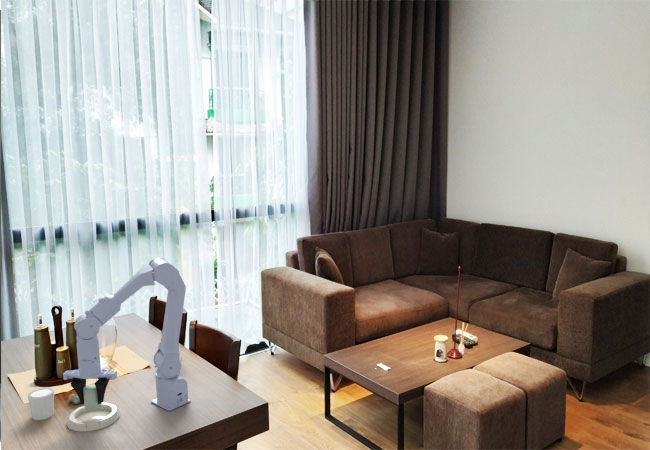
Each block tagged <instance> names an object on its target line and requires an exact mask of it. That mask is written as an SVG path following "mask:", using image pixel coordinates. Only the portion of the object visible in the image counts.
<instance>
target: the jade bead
mask: <svg viewBox="0 0 650 450" xmlns="http://www.w3.org/2000/svg"><path fill="white" fill-rule="evenodd" d="M83 393H84V404H83V406H84V408H85V410H87V411H93V410H97V409H99V408H100V407H101V404H98V396H97V390H96V386H95V383H92V384H88V385H87V384H86V386H85V387H84V388H83Z"/></svg>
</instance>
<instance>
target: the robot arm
mask: <svg viewBox="0 0 650 450" xmlns="http://www.w3.org/2000/svg"><path fill="white" fill-rule="evenodd" d="M156 282H157V283H158V284H160V285H161V286H163V287H164V288H165V289H166V290H167V293H166V295H167V296H166V301H165V302H166V303H165V310H164V311H165V312H164V318H163V323H162V324H163V325H162V331H161V338H160V342H159V343H158V345H157V349H156V351H155V353H154V355H153V359H152V360H153V364H154V366H155V365H156V366H157V367H156V368H157V369H156V371H155V387H156V388H155V389H156V398H154V399H151V400H150V402H151V403H152V404H154V405H156V406H158V407H161V408H162V409H164V410H166V411H168V412H170V411H173V410H176V409H177V408H179V407H181V406H183V405H186V404H188V403H190V402H191V401H192V399H190V398H189V391H188V390H189V388H188V382H187V380H186V379H185V378H183V376H182V374H181V370H182V363H181V361H180V359H179V357H181V351H180V348H179V346H180V345H179V346H178V344H179V341H180V333H181V326H182V319H183V313H184V304H185V298H186V297H185V296H186V292H187V291H186V289H187V287H186V283H185V282H184V280H183V278H182V276H181V273H180V271H179V269H178V268H176V267H175V266H174V265H172V264H171V263H169V262H168V261H167V260H166V259H165V258H164V257H155V258H152V259H150V261H149V262H148V263H146V264H145V265H143V266H142V267H141V268H140V269H139V270H138V271H137V272H136V273H135V274H134V275H133V276H132V277H131V278H130V279H129V280H128V281H127V282H125V284H123V286H121V287H120V288H119V289H118V290H117V291H116V292H115V293H114V294H113V295H105V296H104V297H101V296H100V297H99V298H98V299H97V301H98V302H97V303H96V304H94V305H93V306H92V307H91V308H90V309H89V310H88V309H87V310H85V311H84V314H81V315H79V316H78V317H76V319H75V322H74V324H73V328H74V330H75V332H76V338H75V339H76V352H77V354H76V355H77V364H78V365H77V366H78V367H77V368H78V369H73V370H71V369H70V370H66V371H64V372H63V376H62V377H63V380H64V381H68V380H71V382H70V386H71V387H72V389H73V390H74V391H75V393H76V396H78V397H79V399H80V404H81V405H84V393H83V388H84V387H85V386H87V380H95V379H96V381H95V382H94V384H95V386H96V390H97V396H98V404H101V403H102V402H104V399H105V394H106V391H107V386H108V384H109V382H110V380H112V381H114V380H116V379H117V378H118V372H117V370H111V369H108V368H107V369H106V368H101V366H102V365H101V356H100V354H101V353H100V342H99V339H98V334H99V332H100V328H101V327H103V326H104V325H106V324H107V322H109V321H110V320H111V319H112V318H113V317H115V315H116V314H118V313H119V312H120V311H121V306H122V303H125V302H126V301H127V300H128V299H129V298H131V296H133V295H134V294H135V293H137V292H138V291H140V290H141V289H142V288H143V287H147V286H148V287H149V286H156Z"/></svg>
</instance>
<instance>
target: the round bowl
mask: <svg viewBox="0 0 650 450" xmlns="http://www.w3.org/2000/svg"><path fill="white" fill-rule="evenodd" d="M120 413H121V412H120V410H119V408H117V405H115V404H113V403H111V402H104V401H103V402H102V403H101V407H100V408H99V409H97V410H93V411H87V410H85V408H84V405H82V406H81V407H80V406H79V407H77V408H76V409H74V410H73V411H72V412H71V413H69V418H68V419H67V420H66V425H67V427H68V429H69V430H71V431H74V432H79V433H80V432H81V433H87V432H89V433H90V432H94V431H98V430H102V429H105V428H108V427H109V426H112V425H113V424H114V423H116V422H118V421H119V419H120V415H121V414H120Z"/></svg>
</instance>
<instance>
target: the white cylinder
mask: <svg viewBox="0 0 650 450" xmlns="http://www.w3.org/2000/svg"><path fill="white" fill-rule="evenodd" d="M27 399H28V403H29V407H30V409H29V410H30V413H31V418H32V420H35V421H43V420H47V419H49V418H51V417H52V416H53V415H54V413H55V390H54V388H52V387H51V388H50V387H44V388H43V387H42V388H39V389H34V390H33V391H30V392H29V393H28V395H27Z"/></svg>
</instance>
